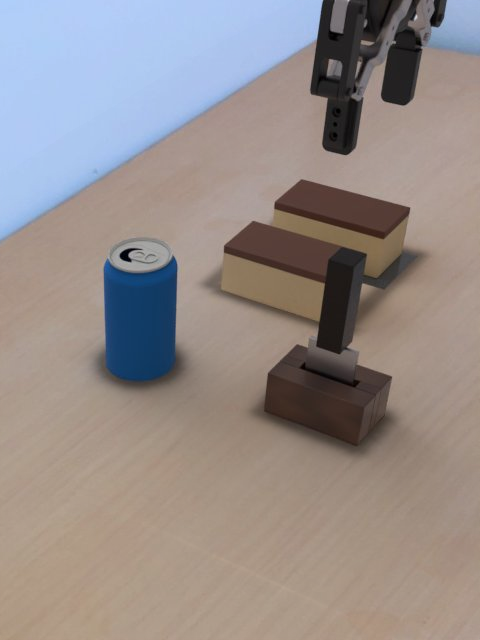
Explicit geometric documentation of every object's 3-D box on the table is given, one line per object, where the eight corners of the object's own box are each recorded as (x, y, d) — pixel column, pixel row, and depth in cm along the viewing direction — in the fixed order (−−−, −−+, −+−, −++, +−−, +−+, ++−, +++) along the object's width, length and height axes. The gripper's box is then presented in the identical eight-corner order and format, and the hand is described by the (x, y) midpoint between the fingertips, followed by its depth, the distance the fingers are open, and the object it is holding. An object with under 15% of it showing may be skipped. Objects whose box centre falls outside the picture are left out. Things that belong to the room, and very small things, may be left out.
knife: (352, 414, 96) (381, 257, 84) (340, 427, 95) (367, 270, 83) (307, 397, 98) (328, 242, 86) (294, 411, 97) (314, 255, 85)
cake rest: (401, 253, 112) (411, 207, 108) (376, 278, 109) (385, 232, 105) (296, 223, 117) (301, 178, 113) (269, 247, 115) (274, 201, 111)
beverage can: (125, 342, 107) (123, 228, 98) (185, 358, 105) (190, 242, 96) (94, 379, 104) (90, 264, 95) (156, 396, 102) (158, 279, 92)
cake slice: (356, 299, 107) (364, 252, 103) (329, 326, 105) (336, 279, 101) (249, 265, 113) (252, 220, 109) (220, 291, 110) (223, 245, 107)
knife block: (383, 423, 96) (393, 376, 92) (355, 455, 94) (364, 407, 90) (291, 390, 100) (296, 343, 96) (262, 419, 98) (267, 372, 94)
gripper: (415, -104, 60) (369, 182, 72) (523, -178, 67) (463, 96, 79) (292, -118, 64) (268, 156, 76) (406, -187, 70) (367, 76, 82)
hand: (368, 125), depth 77 cm, fingers open, 8 cm apart
